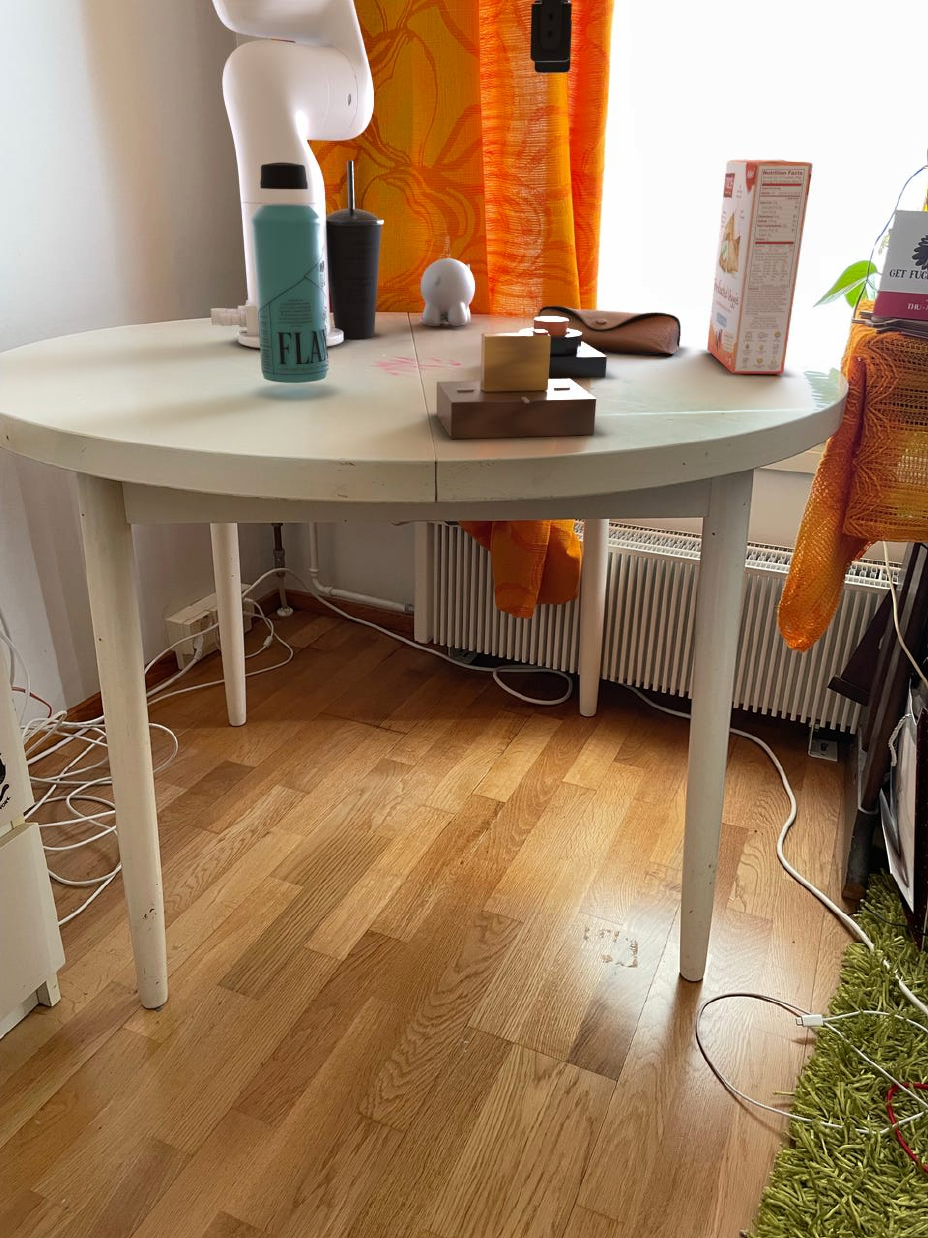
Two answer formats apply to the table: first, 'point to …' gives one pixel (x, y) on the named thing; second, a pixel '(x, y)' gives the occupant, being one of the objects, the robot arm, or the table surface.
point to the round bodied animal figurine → (447, 293)
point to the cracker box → (757, 263)
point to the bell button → (552, 325)
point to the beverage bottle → (289, 282)
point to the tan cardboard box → (515, 361)
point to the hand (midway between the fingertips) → (551, 66)
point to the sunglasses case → (622, 330)
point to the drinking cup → (353, 266)
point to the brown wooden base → (515, 410)
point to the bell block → (573, 357)
